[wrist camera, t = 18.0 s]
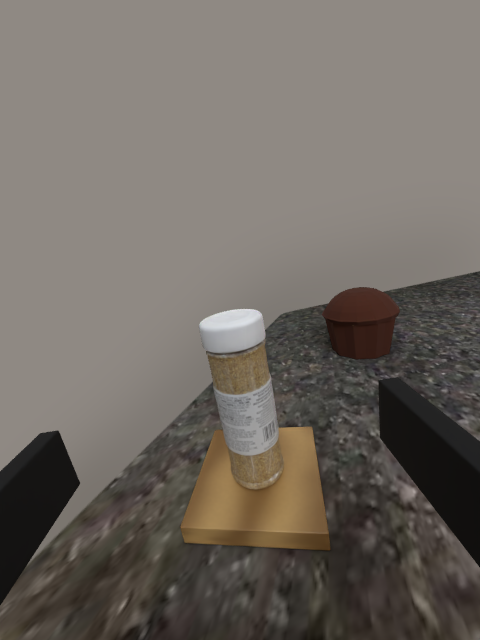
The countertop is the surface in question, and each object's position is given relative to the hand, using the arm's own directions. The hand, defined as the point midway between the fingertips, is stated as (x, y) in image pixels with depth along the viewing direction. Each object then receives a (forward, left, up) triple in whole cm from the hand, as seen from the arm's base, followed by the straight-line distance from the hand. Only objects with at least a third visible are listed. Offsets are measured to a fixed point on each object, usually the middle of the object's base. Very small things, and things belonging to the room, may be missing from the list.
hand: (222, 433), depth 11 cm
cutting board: (-1, +9, -12) cm, 15 cm away
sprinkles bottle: (-1, +9, -11) cm, 14 cm away
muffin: (+14, +35, -12) cm, 40 cm away
